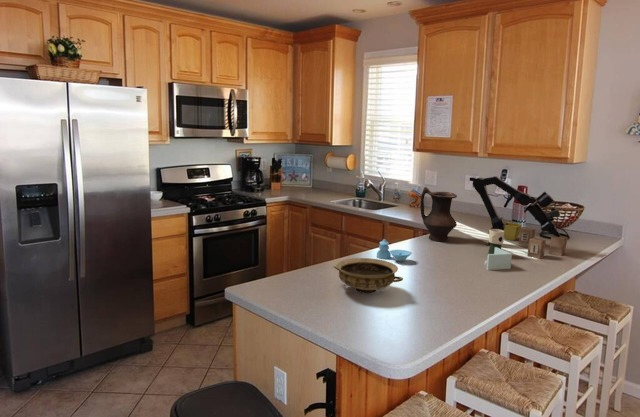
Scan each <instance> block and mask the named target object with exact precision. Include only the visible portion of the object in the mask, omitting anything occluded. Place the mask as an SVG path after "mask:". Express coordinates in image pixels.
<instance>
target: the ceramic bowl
mask: <svg viewBox="0 0 640 417" xmlns="http://www.w3.org/2000/svg"><path fill="white" fill-rule="evenodd" d="M333 268H334V269H335V270H336V271H338V277H339V279H340V281H341V282H343V283H344V284H345V285H346V286H349V287H350V288H351V287H352V288H353V289H355V291H356V292H357V293H361V294H365V295H366V294H374V293H376V292H377V290H382V289H385V288H387V287H389V286H390V285H392V284H393V283H399V282H402V281H403V280H404V277H403V276H402V277H401V276H396V275H395V273H396V272H398V271H399V268H398V265H396V264H394V263H392V262H390V261H386V260H385V259H379V258H372V257H371V258H368V257H367V258H365V257H351V258H346V259H343V260H340V261H338V262H337V263H336V264H333Z"/></svg>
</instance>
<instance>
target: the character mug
mask: <svg viewBox="0 0 640 417" xmlns="http://www.w3.org/2000/svg"><path fill="white" fill-rule="evenodd" d="M488 232H489V233H488V240H489V242H490V243H491V244H490V246H488V247H489V248H488V252H487V255H488V254H494V250H495V247H497V248H499V249H502V245H503V244H504V240H505V238H504V231H503V230H499V229H491V228H489V230H488ZM500 244H502V245H500Z"/></svg>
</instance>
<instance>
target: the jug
mask: <svg viewBox="0 0 640 417" xmlns="http://www.w3.org/2000/svg"><path fill="white" fill-rule="evenodd" d="M426 194H428V195H429V196H430V197H431V210H430V212H429V214H428V215H425V202H424V201H425V197H426ZM457 197H458V196H457V194H455V193H454V192H449V191H431V190H429V188H428V187H427V186H425V187H423V189H422V193H421V195H420V200H419V203H420V204H419V205H420V206H419V208H420V217H421V219H422V222H423V225H424V226H425V227H426V229H427V231H428V232H429V235H428V239H429V240H430V241H432V242H442V243H443V242H448V241H449V237H448V235H449V234H450V232H452V231H453V230H454V229H455V228H456V227H457V221H456V220H455V218H454V217H453V216H452V214H451V207H452V202H453V199H456V198H457Z"/></svg>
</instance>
